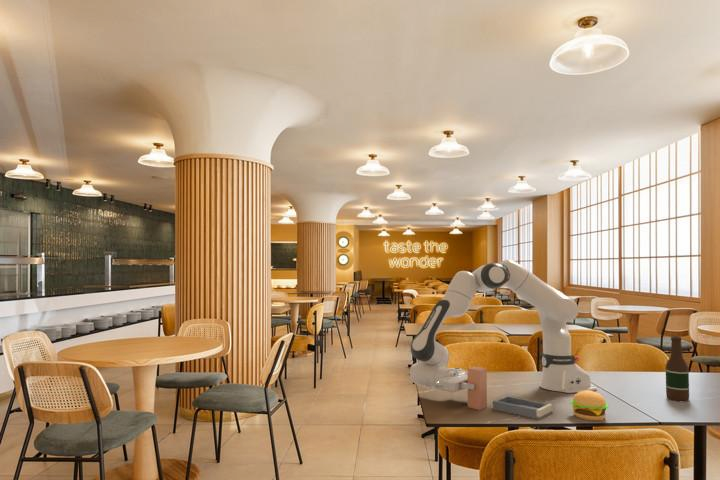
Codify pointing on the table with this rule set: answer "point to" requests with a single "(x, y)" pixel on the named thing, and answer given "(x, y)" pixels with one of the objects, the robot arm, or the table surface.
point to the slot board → (522, 407)
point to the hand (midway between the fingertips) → (479, 385)
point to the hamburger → (589, 405)
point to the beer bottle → (677, 373)
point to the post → (477, 388)
